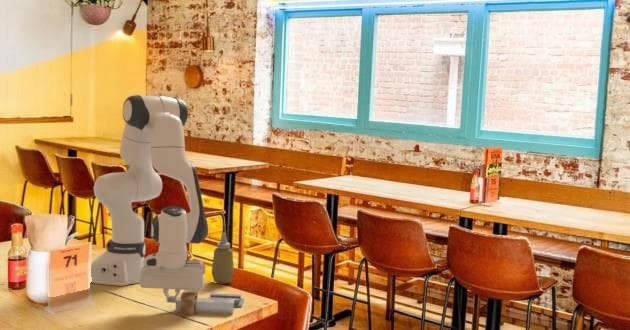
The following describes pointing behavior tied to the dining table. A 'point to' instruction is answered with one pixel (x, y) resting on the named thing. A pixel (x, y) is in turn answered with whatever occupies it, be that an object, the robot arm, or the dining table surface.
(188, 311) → the brown block
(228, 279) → the squeeze bottle
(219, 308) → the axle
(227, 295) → the cradle
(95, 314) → the dining table surface
